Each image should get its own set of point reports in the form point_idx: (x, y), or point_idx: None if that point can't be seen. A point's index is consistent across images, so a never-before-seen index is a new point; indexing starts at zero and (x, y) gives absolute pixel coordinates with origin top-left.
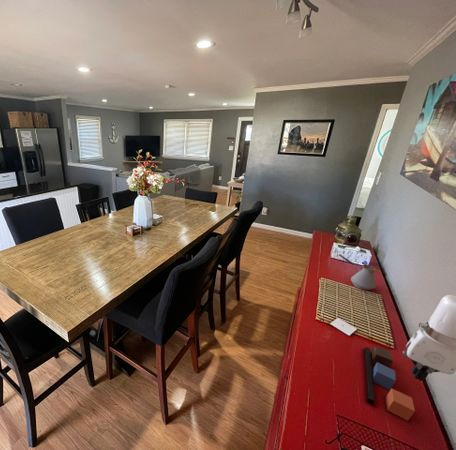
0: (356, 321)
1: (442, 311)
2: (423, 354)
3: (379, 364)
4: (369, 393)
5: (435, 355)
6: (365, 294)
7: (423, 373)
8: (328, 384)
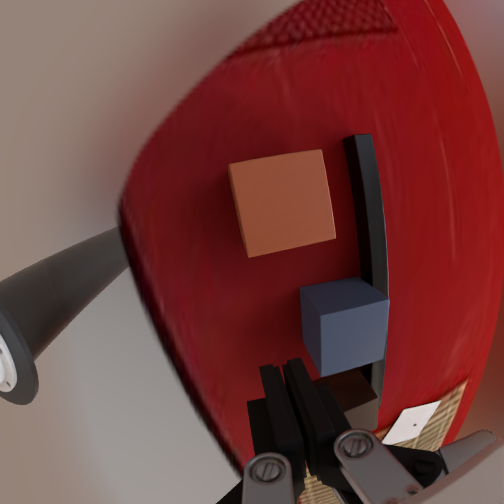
0: None
1: None
2: None
3: (376, 354)
4: (375, 163)
5: None
6: None
7: (291, 423)
8: (446, 126)
